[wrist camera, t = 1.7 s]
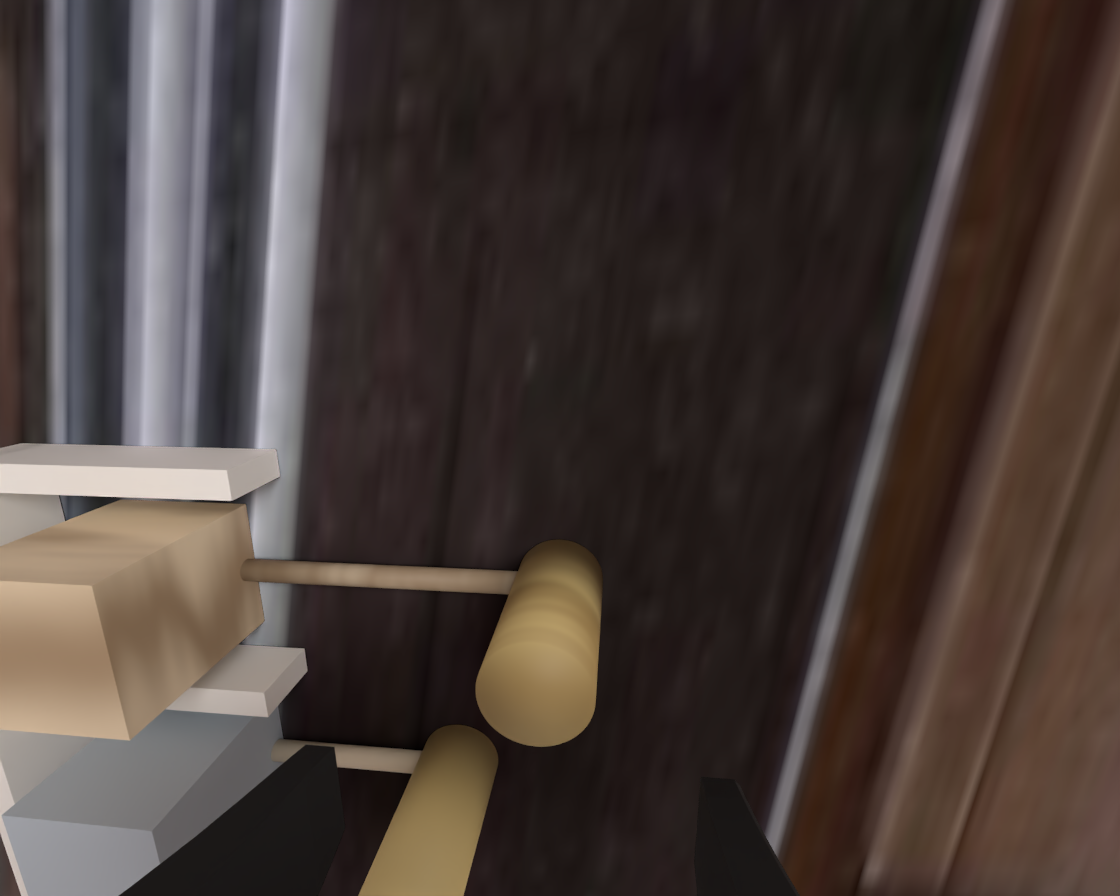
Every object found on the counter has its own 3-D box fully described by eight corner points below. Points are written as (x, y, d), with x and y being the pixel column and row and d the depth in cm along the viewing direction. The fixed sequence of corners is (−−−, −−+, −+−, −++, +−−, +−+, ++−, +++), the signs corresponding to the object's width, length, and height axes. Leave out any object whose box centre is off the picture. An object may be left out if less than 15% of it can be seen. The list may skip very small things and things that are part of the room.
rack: (330, 831, 23) (273, 935, 20) (118, 810, 24) (24, 905, 21) (276, 449, 19) (189, 485, 15) (21, 443, 20) (-121, 476, 16)
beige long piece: (601, 640, 20) (594, 780, 14) (146, 614, 22) (-28, 727, 16) (604, 516, 18) (596, 612, 13) (120, 499, 20) (-78, 576, 15)
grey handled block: (500, 808, 22) (458, 985, 16) (182, 778, 24) (40, 932, 18) (496, 707, 21) (449, 862, 15) (161, 683, 22) (1, 815, 17)
